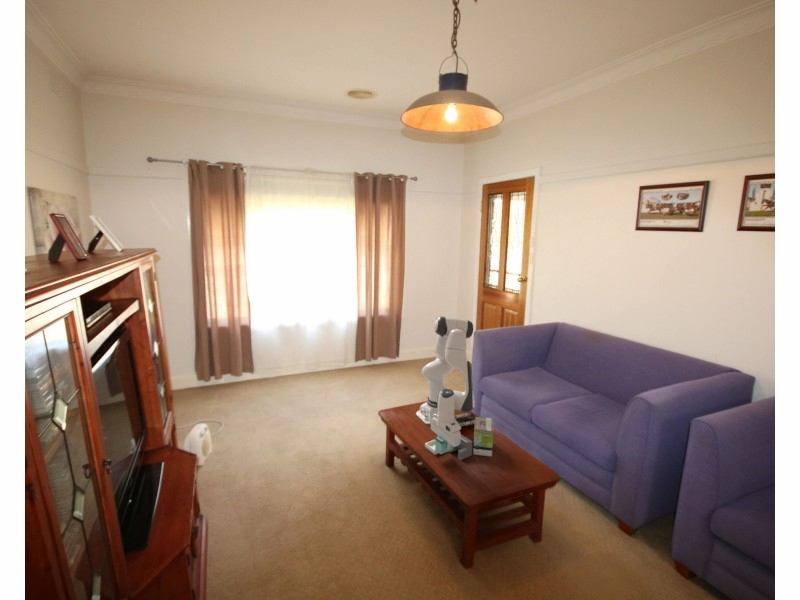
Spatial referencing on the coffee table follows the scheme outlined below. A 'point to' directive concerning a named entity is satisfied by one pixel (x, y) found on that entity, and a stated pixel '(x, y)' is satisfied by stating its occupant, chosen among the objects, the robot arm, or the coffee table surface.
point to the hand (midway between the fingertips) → (444, 445)
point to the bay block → (463, 448)
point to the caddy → (442, 445)
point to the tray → (431, 446)
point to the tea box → (483, 436)
